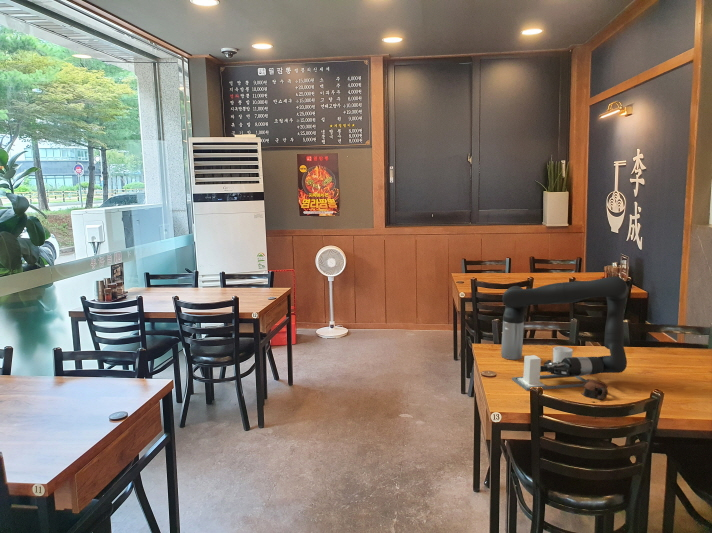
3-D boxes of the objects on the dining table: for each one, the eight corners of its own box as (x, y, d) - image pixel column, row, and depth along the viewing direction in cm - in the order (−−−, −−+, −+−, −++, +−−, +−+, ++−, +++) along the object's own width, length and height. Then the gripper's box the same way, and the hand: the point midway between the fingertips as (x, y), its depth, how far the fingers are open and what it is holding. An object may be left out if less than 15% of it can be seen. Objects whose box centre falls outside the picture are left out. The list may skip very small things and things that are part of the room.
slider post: (517, 380, 214) (518, 354, 212) (533, 379, 215) (534, 353, 214) (528, 388, 205) (530, 361, 203) (545, 387, 206) (547, 360, 205)
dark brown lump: (573, 396, 203) (579, 376, 205) (593, 406, 205) (599, 385, 206) (594, 401, 191) (601, 379, 193) (615, 410, 193) (622, 389, 195)
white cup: (568, 368, 233) (569, 346, 231) (573, 374, 225) (575, 352, 224) (549, 367, 234) (551, 346, 232) (554, 374, 226) (555, 351, 224)
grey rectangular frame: (511, 383, 215) (511, 377, 215) (573, 378, 221) (574, 373, 220) (526, 394, 204) (526, 388, 203) (591, 389, 209) (592, 383, 209)
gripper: (567, 352, 219) (529, 354, 216) (587, 362, 206) (546, 365, 203) (566, 369, 220) (528, 372, 217) (586, 381, 207) (545, 384, 204)
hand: (537, 369), depth 210 cm, fingers closed
